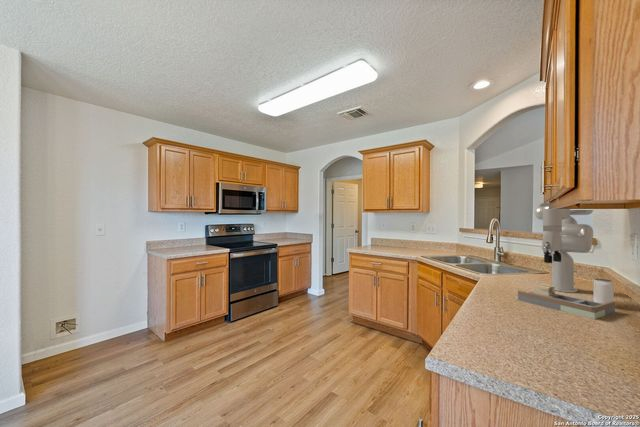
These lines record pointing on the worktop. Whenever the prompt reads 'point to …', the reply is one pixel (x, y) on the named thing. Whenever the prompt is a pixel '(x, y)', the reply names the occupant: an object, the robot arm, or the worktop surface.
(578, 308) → the trap deck
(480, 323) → the worktop surface
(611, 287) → the can
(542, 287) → the block
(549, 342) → the worktop surface
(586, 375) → the worktop surface
